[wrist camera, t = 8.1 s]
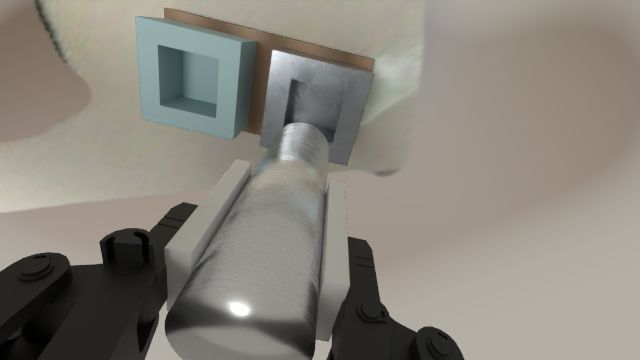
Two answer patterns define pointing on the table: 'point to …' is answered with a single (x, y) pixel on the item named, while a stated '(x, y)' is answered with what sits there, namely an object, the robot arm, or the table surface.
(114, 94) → the table surface
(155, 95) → the teal square holder
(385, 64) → the table surface
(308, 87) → the socket block
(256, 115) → the tool board
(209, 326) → the translucent peg
